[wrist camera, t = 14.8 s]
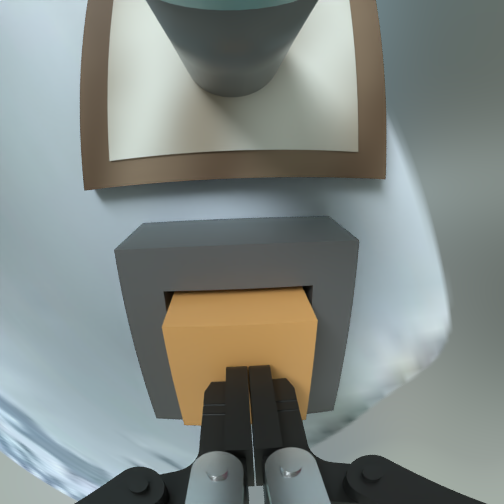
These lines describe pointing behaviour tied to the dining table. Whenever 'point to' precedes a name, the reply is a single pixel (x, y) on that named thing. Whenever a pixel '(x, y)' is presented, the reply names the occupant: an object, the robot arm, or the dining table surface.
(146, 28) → the board
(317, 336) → the button housing
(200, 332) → the button
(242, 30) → the marker
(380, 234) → the dining table surface
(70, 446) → the dining table surface
